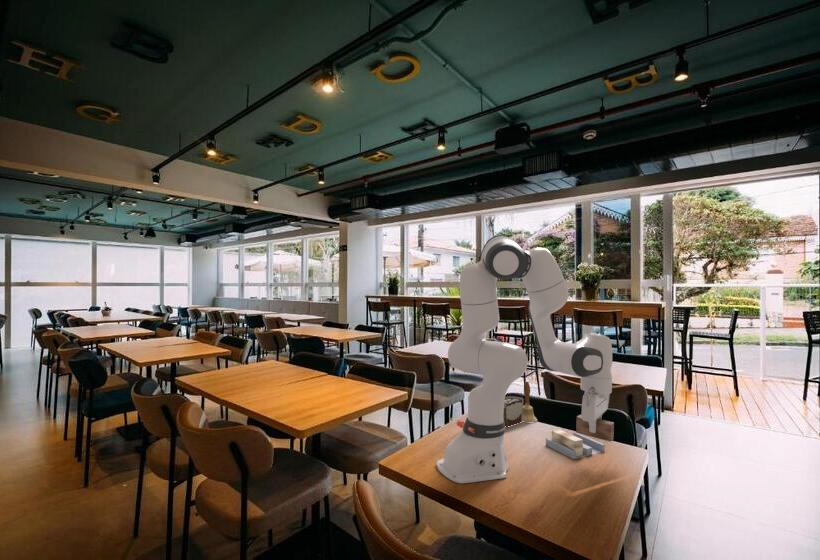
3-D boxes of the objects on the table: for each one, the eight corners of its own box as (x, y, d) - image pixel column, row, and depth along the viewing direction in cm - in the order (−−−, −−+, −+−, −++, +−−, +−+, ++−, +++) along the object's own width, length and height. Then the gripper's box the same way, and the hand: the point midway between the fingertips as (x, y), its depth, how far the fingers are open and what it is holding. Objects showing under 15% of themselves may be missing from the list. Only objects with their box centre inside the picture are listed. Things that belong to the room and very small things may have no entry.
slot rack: (573, 461, 124) (573, 452, 124) (545, 447, 135) (545, 438, 135) (604, 453, 130) (604, 444, 130) (575, 440, 141) (575, 432, 141)
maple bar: (582, 454, 127) (582, 439, 127) (575, 456, 126) (575, 441, 126) (559, 443, 136) (559, 429, 136) (551, 445, 135) (551, 430, 135)
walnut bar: (613, 438, 118) (614, 422, 118) (610, 441, 116) (611, 424, 116) (579, 430, 125) (580, 414, 125) (576, 432, 122) (576, 416, 122)
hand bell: (534, 424, 157) (534, 385, 157) (514, 420, 161) (514, 382, 161) (539, 418, 164) (539, 381, 164) (520, 415, 168) (520, 378, 168)
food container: (511, 417, 164) (511, 394, 164) (523, 422, 159) (523, 397, 160) (492, 424, 157) (492, 399, 157) (504, 428, 152) (505, 403, 152)
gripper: (599, 392, 111) (598, 441, 110) (613, 382, 127) (612, 424, 126) (576, 388, 115) (575, 435, 114) (592, 379, 131) (591, 420, 130)
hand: (594, 430), depth 120 cm, fingers closed on walnut bar, 4 cm apart
